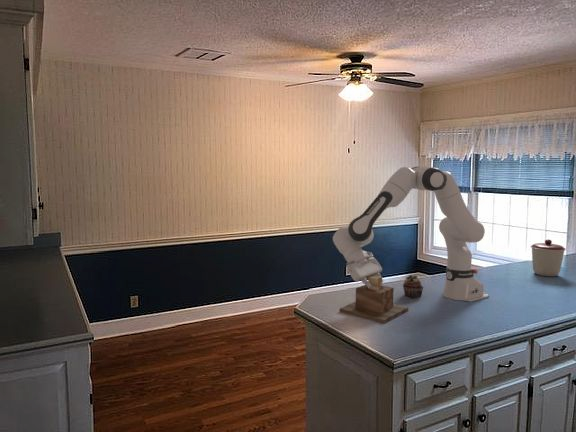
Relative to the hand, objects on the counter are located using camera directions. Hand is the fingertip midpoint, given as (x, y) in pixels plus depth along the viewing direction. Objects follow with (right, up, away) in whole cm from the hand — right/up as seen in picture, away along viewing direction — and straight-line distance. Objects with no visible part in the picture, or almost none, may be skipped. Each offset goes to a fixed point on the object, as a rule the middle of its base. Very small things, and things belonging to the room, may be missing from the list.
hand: (376, 284), depth 203 cm
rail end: (0, -8, +1) cm, 8 cm away
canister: (+114, -5, +71) cm, 135 cm away
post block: (-1, -12, +2) cm, 12 cm away
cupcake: (+23, -10, +26) cm, 36 cm away
